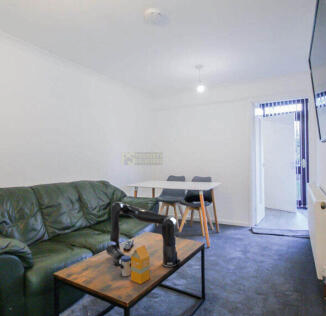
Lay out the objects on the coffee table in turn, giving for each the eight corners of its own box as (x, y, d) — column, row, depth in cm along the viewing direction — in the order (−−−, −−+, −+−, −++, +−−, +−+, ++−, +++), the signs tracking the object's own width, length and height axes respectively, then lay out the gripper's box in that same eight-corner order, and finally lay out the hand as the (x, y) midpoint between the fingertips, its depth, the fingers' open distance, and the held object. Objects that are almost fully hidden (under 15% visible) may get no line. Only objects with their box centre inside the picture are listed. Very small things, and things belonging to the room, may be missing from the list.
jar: (128, 271, 162) (128, 255, 162) (131, 275, 157) (131, 258, 157) (120, 273, 160) (120, 257, 160) (123, 276, 155) (123, 260, 155)
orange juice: (131, 280, 150) (130, 247, 151) (140, 275, 157) (139, 243, 158) (140, 284, 146) (140, 250, 146) (149, 278, 152) (149, 246, 153)
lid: (128, 257, 162) (128, 254, 162) (131, 261, 157) (131, 258, 157) (120, 259, 160) (120, 256, 160) (122, 262, 155) (122, 259, 155)
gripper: (109, 253, 169) (116, 262, 153) (129, 250, 174) (137, 258, 159) (109, 264, 169) (116, 274, 153) (129, 260, 174) (137, 270, 159)
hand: (127, 266), depth 156 cm, fingers closed on jar, 5 cm apart
